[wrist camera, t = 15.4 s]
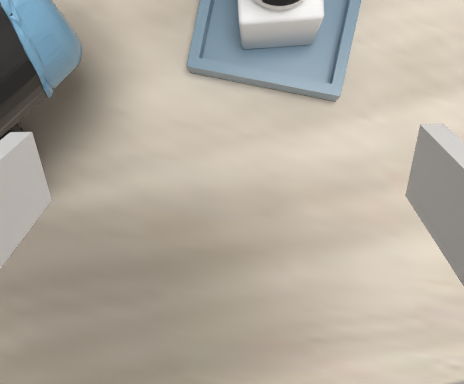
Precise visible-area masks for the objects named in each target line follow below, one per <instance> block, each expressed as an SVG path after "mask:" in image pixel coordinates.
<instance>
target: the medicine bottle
mask: <svg viewBox="0 0 464 384" xmlns="http://www.w3.org/2000/svg"><path fill="white" fill-rule="evenodd" d="M238 17H239V28H240V37H241V46H242V48H243V49H258V48H271V47H284V46H298V45H310V44H312V43H313V42H314V40H315V37H316V35H317V32H318V30H319V27H320V25H321V23H322V20H323V18H324V1H323V0H238Z"/></svg>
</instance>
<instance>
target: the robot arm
mask: <svg viewBox="0 0 464 384" xmlns="http://www.w3.org/2000/svg"><path fill="white" fill-rule="evenodd" d="M81 53H82V47H81V43H80V40H79V38H78V36H77V34H76V33H75V31H74V30H73V29H72V27H71V26H70V24H69V23H68V22H67V20H66V19H65V18H64V16H63V15H62V14H61V12H60V11H59V10H58V8H57V7H56V6H55V4H54V3H53V2H52V0H0V269H1V268H2V266H3V265H4V264H5V262H6V261H7V260H8V258H9V257H10V256H11V254H12V253H13V252H14V250H15V249H16V248H17V246H18V245H19V244H20V242H21V241H22V240H23V238H24V237H25V236H26V234H27V233H28V232H29V230H30V229H31V227H32V226H33V225H34V223H35V222H36V221H37V219H38V218H39V217H40V215H41V214H42V213H43V211H44V210H45V209H46V207H47V206H48V205H49V203H50V202H51V201H52V199H51V195H50V192H49V188H48V185H47V181H46V178H45V174H44V171H43V168H42V164H41V161H40V157H39V154H38V150H37V147H36V143H35V140H34V136H33V133H32V132H24V131H23V130H22V129H21V128H20V127H19V126H18V125H17V124H16V123H17V122H19V121H20V120H21V119H22V118H23V117H24V116H25V115H27V114H28V113H29V112H30V111H31V110H32V109H33V108H34V107H36V106H37V105H38V104H39V103H40V102H41V101H42V100H44V99H45V98H46V97H47V98H50V97H51V96H52V94H53V90H54V89H55V88H56V87H57V86H58V85H59V84H60V83H61V82H62V81H63V80H64V79H65V78H66V77H67V76H68V75H69V74H70V73H71V72H72V71H73V70H74V69H75V68H76V67H77V65H78V64H79V62H80V59H81ZM405 196H406V197H407V199H408V200H409V202H410V203H411V205H412V207H413V208H414V210H415V211H416V213H417V214H418V216H419V217H420V219H421V221H422V222H423V224H424V225H425V227H426V228H427V230H428V231H429V233H430V235H431V236H432V238H433V239H434V241H435V242H436V244H437V245H438V247H439V248H440V250H441V252H442V253H443V255H444V256H445V258H446V259H447V261H448V262H449V264H450V266H451V267H452V269H453V270H454V272H455V273H456V275H457V276H458V278H459V280H460V281H461V283H462V284H463V286H464V142H463V141H462V140H461V139H460V138H459V137H458V136H457V135H455V134H454V133H453V132H452V131H451V130H450V129H449V128H448V127H446V126H445V125H444V124H420V128H419V133H418V138H417V143H416V148H415V152H414V157H413V162H412V167H411V172H410V176H409V181H408V186H407V191H406V195H405Z"/></svg>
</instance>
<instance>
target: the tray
mask: <svg viewBox="0 0 464 384" xmlns="http://www.w3.org/2000/svg"><path fill="white" fill-rule="evenodd" d="M323 1H324V18H323V20H322V23H321V25H320V27H319V30H318V32H317V35H316V37H315V40H314V42H313V43H312V44H310V45H298V46H284V47H271V48H258V49H243V48H242V46H241V37H240V28H239V17H238V0H200V3H199V8H198V13H197V18H196V23H195V27H194V32H193V37H192V42H191V47H190V52H189V57H188V62H187V68H188V69H189V71H190V72H191V73H195V74H200V75H205V76H210V77H215V78H220V79H225V80H230V81H235V82H240V83H245V84H250V85H255V86H260V87H265V88H270V89H275V90H280V91H285V92H290V93H295V94H300V95H305V96H310V97H316V98H321V99H326V100H331V101H336V100H337V99H338V98H339V97H340V95H341V90H342V86H343V81H344V77H345V72H346V67H347V63H348V58H349V54H350V49H351V45H352V40H353V35H354V31H355V26H356V22H357V17H358V12H359V8H360V3H361V0H323Z"/></svg>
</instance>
